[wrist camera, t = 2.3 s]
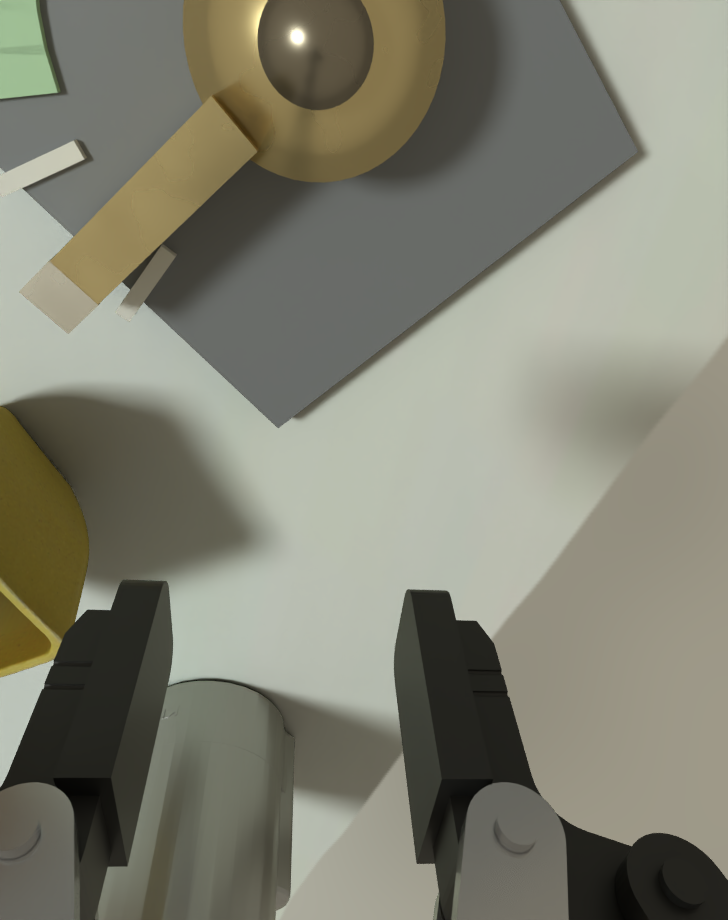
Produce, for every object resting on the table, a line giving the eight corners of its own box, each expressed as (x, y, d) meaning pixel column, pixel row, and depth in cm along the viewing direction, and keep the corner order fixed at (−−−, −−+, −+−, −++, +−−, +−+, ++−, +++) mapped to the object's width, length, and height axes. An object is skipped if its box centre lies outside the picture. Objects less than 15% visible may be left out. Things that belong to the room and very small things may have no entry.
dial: (327, -178, 18) (330, -223, 14) (472, 59, 21) (501, 67, 18) (-9, 199, 22) (-65, 231, 19) (152, 345, 26) (127, 394, 22)
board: (624, 146, 24) (641, 153, 23) (263, 426, 30) (261, 444, 28) (188, -681, 14) (176, -748, 13) (-228, -29, 20) (-265, -32, 19)
